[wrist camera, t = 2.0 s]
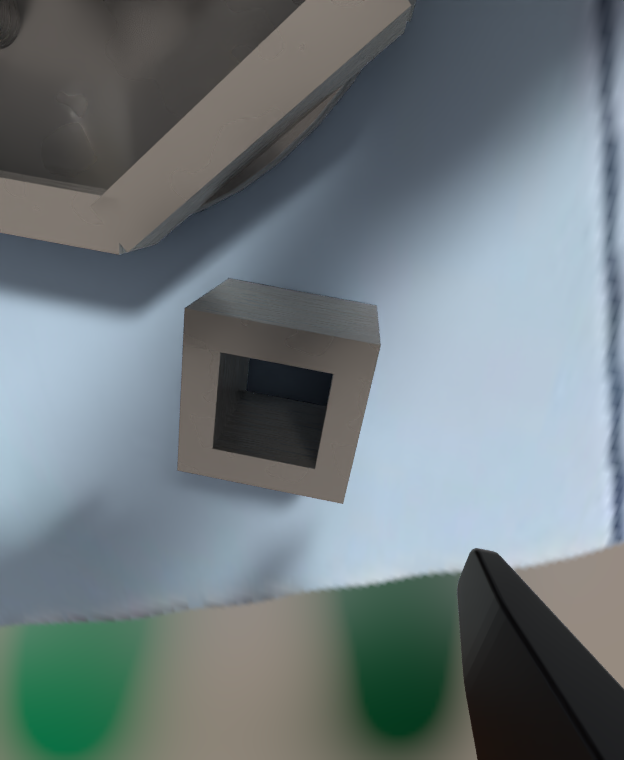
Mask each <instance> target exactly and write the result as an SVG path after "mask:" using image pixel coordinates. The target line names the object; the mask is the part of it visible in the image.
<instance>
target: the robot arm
mask: <svg viewBox="0 0 624 760" xmlns="http://www.w3.org/2000/svg"><path fill="white" fill-rule="evenodd" d="M457 597H458V611H459V625H460V638H461V651H462V665H463V676H464V684H465V691H466V698H467V703H468V708H469V715H470V720H471V726H472V731H473V737H474V742H475V748H476V754H477V759H478V760H624V689H623V688H622V687H621V686H620V684H619V683H618V682H617V681H616V680H615V679H614V678H613V677H612V676H611V675H610V674H609V673H608V671H606V669H605V668H604V667H603V666H602V665H601V664H600V663H599V662H598V661H597V660H596V659H595V657H594V656H593V655H592V654H591V653H590V652H589V651H588V650H587V649H586V648H585V647H584V646H583V645H582V644H581V642H580V641H579V640H578V639H577V638H576V637H575V636H574V635H573V634H572V633H571V632H570V631H569V630H568V628H567V627H566V626H565V625H564V624H563V623H562V622H561V621H560V620H559V619H558V618H557V616H556V615H554V613H553V612H552V611H551V610H550V609H549V608H548V607H547V606H546V605H545V604H544V603H543V601H542V600H541V599H540V598H539V597H538V596H537V595H536V594H535V593H534V592H533V591H532V590H531V589H530V587H529V586H528V585H527V584H526V583H525V582H524V581H523V580H522V579H521V578H520V577H519V576H518V574H517V573H516V572H515V571H514V570H513V569H512V568H511V567H510V566H509V565H508V564H507V563H506V562H505V560H504V559H503V558H502V557H501V556H500V555H499V554H498V553H496V552H493V551H489V550H484V549H479V548H475V549H473V550H472V551H471V552H470V554H469V556H468V559H467V561H466V563H465V566H464V568H463V571H462V573H461V576H460V578H459V581H458V588H457Z"/></svg>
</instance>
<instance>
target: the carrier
mask: <svg viewBox="0 0 624 760" xmlns="http://www.w3.org/2000/svg"><path fill="white" fill-rule="evenodd" d="M415 3H416V0H0V233H5V234H10V235H16V236H21V237H27V238H32V239H37V240H43V241H48V242H54V243H59V244H64V245H70V246H75V247H81V248H86V249H91V250H97V251H102V252H108V253H113V254H118V255H120V254H124V253H128V252H131V251H135V250H139V249H142V248H146V247H149V246H153V245H156V244H157V243H159V242H160V241H161V240H162V239H163V238H164V237H166V236H167V235H168V234H169V233H170V232H171V231H173V230H174V229H175V228H176V227H177V226H178V225H180V224H181V223H182V222H183V221H184V220H186V219H187V218H188V217H189V216H190V215H191V214H194V213H197V212H200V211H203V210H205V209H207V208H209V207H211V206H213V205H214V204H216V203H218V202H220V201H222V200H224V199H226V198H228V197H230V196H232V195H234V194H236V193H237V192H239V191H241V190H243V189H244V188H246V187H247V186H249V185H250V184H251V183H253V182H254V181H255V180H257V179H258V178H260V177H261V176H262V175H264V174H265V173H267V172H268V171H269V170H271V169H272V168H273V167H275V166H276V165H278V164H279V163H280V162H282V161H283V160H284V159H285V158H286V157H287V156H288V155H289V154H290V153H291V152H292V151H293V150H294V149H295V148H296V147H297V146H298V145H299V144H300V143H301V142H302V141H303V140H305V139H306V138H307V137H308V136H309V135H310V134H311V133H312V132H313V131H314V130H315V129H316V128H317V127H318V126H319V125H320V124H321V122H322V121H323V120H324V119H325V117H326V116H327V115H328V114H329V112H330V111H331V110H332V109H333V107H334V106H335V105H336V104H337V102H338V101H339V100H340V99H341V98H342V96H343V95H344V94H345V93H346V91H347V90H348V89H349V88H350V86H351V85H352V84H353V83H354V81H355V80H356V78H357V76H358V75H359V73H360V72H361V70H362V68H363V67H364V66H366V65H367V64H368V63H369V62H370V61H371V60H373V59H374V58H375V57H376V56H377V55H378V54H380V53H381V52H382V51H383V50H384V49H386V48H387V47H388V46H389V45H390V44H391V43H393V42H394V41H395V40H396V39H397V38H398V37H400V36H401V35H402V34H403V33H404V31H405V27H406V24H407V21H409V22H410V21H411V18H412V14H413V10H414V7H415Z"/></svg>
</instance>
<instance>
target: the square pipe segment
mask: <svg viewBox="0 0 624 760" xmlns="http://www.w3.org/2000/svg"><path fill="white" fill-rule="evenodd" d="M380 346H381V344H380V333H379V323H378V312H377V306H376V305H371V304H365V303H360V302H354V301H349V300H344V299H338V298H333V297H327V296H322V295H317V294H311V293H306V292H301V291H295V290H290V289H284V288H279V287H274V286H268V285H263V284H257V283H252V282H247V281H241V280H236V279H231V278H228V279H227V280H225V281H224V282H222V283H221V284H219V285H218V286H216V287H215V288H214V289H212V290H211V291H209V292H208V293H206V294H205V295H203V296H202V297H200V298H199V299H197V300H196V301H194V302H193V303H191V304H190V305H188V306H187V307H185V312H184V334H183V357H182V379H181V401H180V424H179V446H178V468H177V470H178V471H183V472H188V473H193V474H198V475H203V476H208V477H213V478H218V479H223V480H228V481H232V482H237V483H242V484H247V485H252V486H257V487H262V488H267V489H272V490H277V491H282V492H287V493H292V494H297V495H302V496H307V497H312V498H317V499H322V500H327V501H332V502H337V503H341V504H343V502H344V497H345V493H346V489H347V485H348V481H349V476H350V472H351V468H352V464H353V459H354V455H355V451H356V447H357V443H358V438H359V434H360V430H361V426H362V421H363V417H364V413H365V409H366V405H367V400H368V396H369V392H370V388H371V383H372V379H373V375H374V371H375V367H376V362H377V358H378V354H379V350H380ZM250 358H253V359H259V360H264V361H269V362H274V363H279V364H285V365H290V366H295V367H300V368H305V369H311V370H316V371H321V372H326V373H332V379H331V384H330V390H329V395H328V400H327V405H326V406H322V405H317V404H312V403H307V402H301V401H296V400H291V399H286V398H281V397H276V396H271V395H265V394H260V393H255V392H250V391H246V388H247V379H248V370H249V361H250Z"/></svg>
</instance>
